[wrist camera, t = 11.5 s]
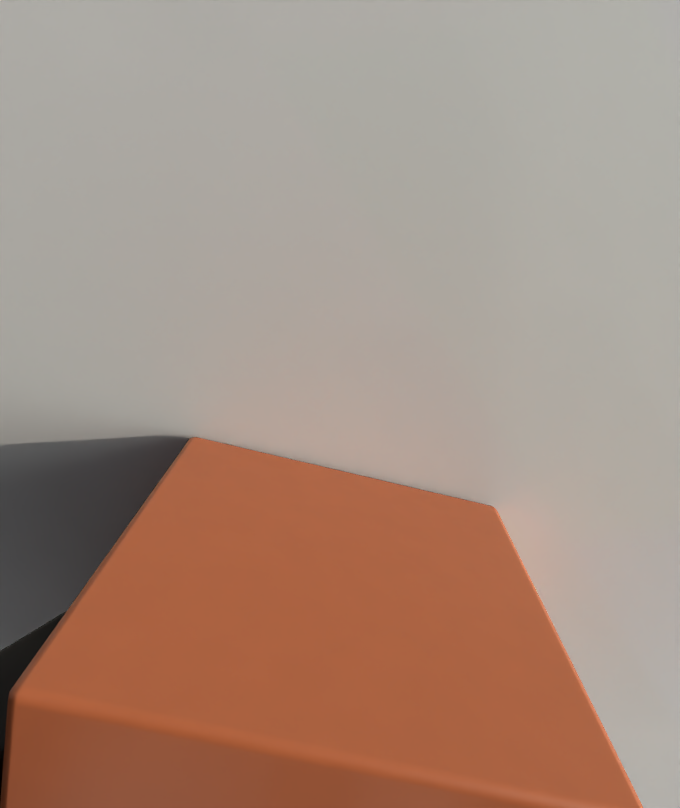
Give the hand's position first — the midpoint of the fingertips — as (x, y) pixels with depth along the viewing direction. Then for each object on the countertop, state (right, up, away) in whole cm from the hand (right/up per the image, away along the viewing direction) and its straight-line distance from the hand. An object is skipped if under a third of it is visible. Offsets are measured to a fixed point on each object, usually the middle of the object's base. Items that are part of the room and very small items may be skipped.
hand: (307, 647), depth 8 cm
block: (0, 0, +1) cm, 1 cm away
